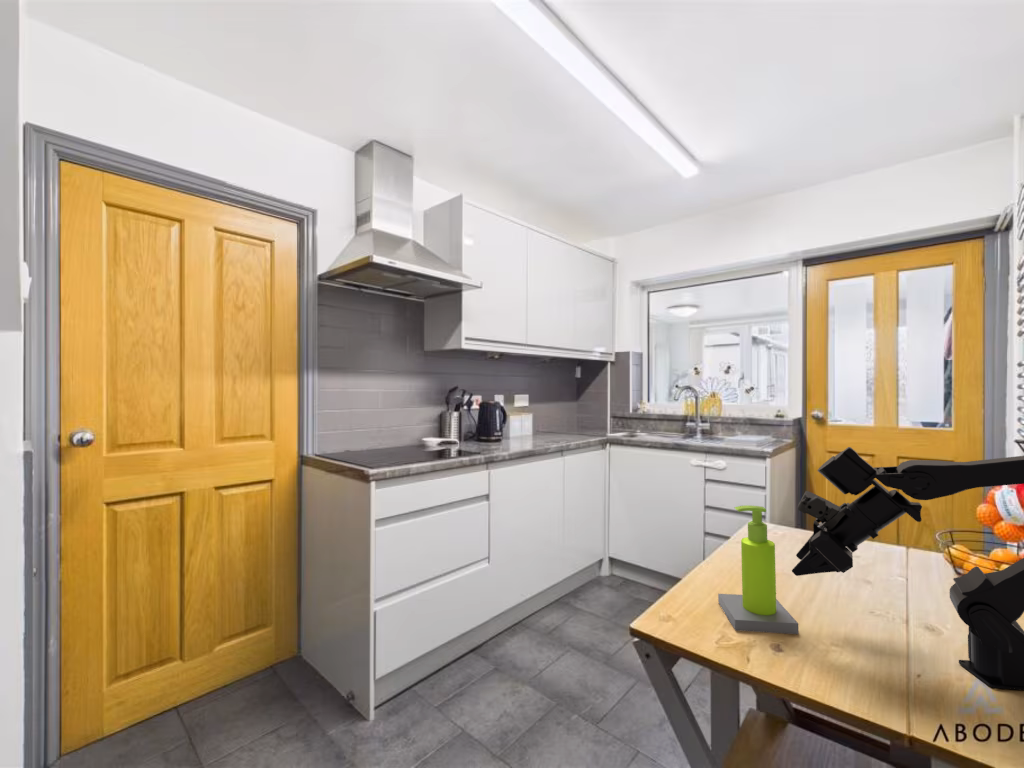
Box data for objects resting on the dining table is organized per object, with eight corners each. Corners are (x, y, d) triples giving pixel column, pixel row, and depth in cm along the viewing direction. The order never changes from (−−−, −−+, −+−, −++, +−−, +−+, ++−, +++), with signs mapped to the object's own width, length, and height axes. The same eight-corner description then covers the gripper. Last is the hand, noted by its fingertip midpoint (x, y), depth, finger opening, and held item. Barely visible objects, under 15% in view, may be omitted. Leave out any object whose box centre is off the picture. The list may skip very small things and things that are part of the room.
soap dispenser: (733, 599, 94) (731, 502, 94) (770, 602, 93) (767, 503, 93) (742, 613, 88) (739, 510, 89) (781, 616, 87) (778, 511, 87)
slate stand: (798, 634, 84) (798, 623, 84) (735, 630, 86) (734, 619, 86) (774, 605, 95) (774, 596, 95) (718, 603, 97) (718, 593, 97)
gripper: (828, 471, 91) (767, 518, 98) (825, 488, 76) (753, 543, 83) (880, 516, 87) (812, 563, 93) (888, 544, 72) (806, 598, 78)
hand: (796, 565), depth 87 cm, fingers open, 9 cm apart
